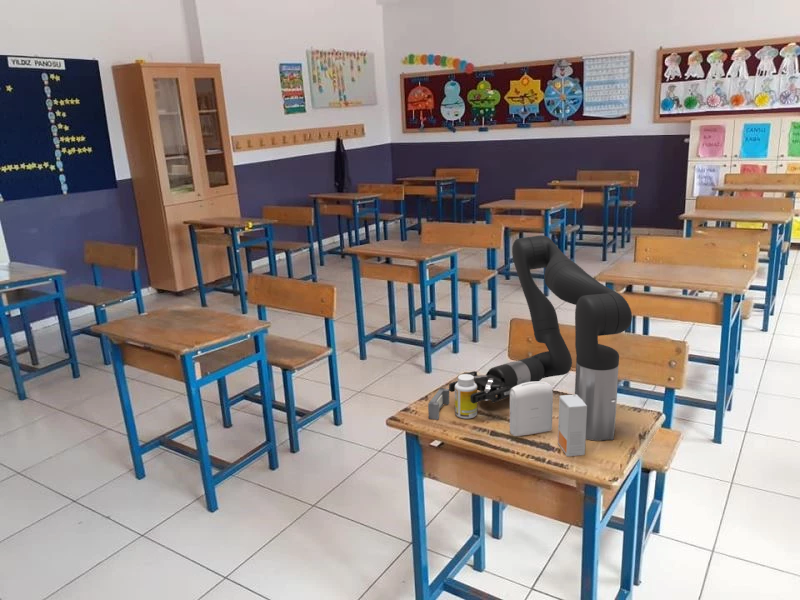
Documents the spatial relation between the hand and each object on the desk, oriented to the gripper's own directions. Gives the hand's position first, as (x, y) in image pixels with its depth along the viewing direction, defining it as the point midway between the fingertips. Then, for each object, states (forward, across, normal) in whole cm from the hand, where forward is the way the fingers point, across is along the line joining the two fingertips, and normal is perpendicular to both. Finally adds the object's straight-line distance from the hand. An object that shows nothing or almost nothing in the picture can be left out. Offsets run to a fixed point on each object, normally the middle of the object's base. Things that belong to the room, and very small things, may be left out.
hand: (460, 393), depth 156 cm
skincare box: (-9, +28, +6) cm, 30 cm away
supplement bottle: (-2, 0, +6) cm, 6 cm away
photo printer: (-8, +16, +6) cm, 19 cm away
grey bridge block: (+3, -6, +6) cm, 9 cm away
